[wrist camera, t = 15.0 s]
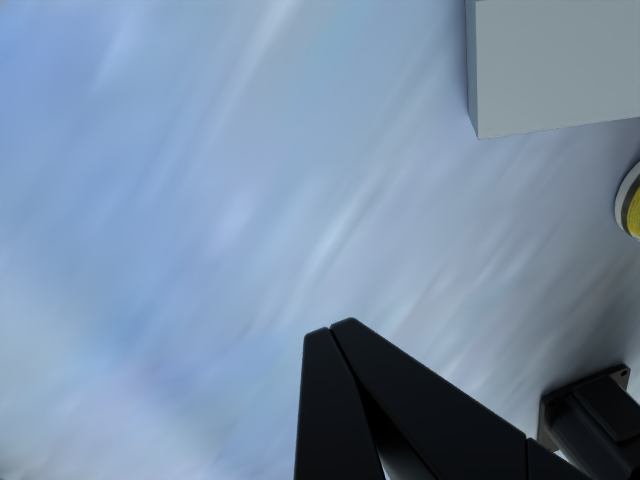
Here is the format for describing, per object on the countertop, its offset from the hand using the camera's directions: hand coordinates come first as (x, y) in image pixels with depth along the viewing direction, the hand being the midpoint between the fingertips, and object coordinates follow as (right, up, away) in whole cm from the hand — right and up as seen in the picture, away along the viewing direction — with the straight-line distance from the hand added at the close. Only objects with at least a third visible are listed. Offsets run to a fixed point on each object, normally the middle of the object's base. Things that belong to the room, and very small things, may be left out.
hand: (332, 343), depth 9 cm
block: (+5, +8, +11) cm, 15 cm away
